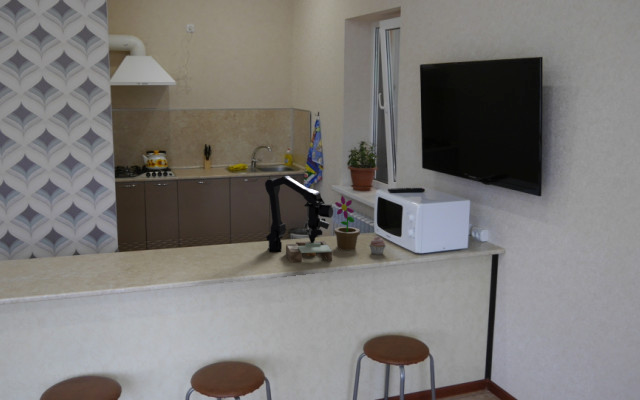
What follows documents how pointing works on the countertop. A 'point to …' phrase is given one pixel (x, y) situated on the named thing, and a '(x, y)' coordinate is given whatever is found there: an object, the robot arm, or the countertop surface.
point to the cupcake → (377, 246)
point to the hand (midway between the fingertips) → (312, 244)
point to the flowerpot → (346, 228)
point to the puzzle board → (296, 255)
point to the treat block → (310, 254)
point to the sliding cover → (314, 248)
